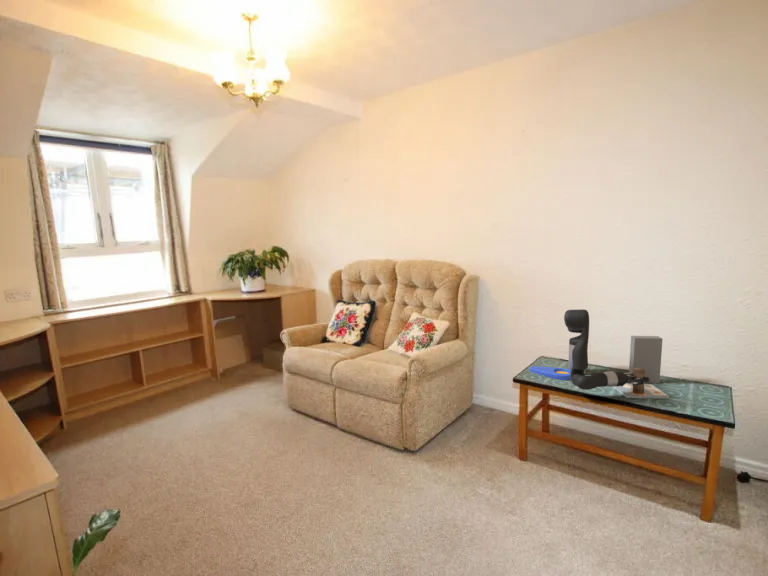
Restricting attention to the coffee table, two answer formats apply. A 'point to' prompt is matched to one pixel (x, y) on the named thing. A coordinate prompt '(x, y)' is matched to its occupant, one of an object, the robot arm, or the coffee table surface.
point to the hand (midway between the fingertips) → (644, 377)
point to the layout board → (649, 392)
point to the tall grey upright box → (646, 356)
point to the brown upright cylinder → (639, 373)
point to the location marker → (553, 372)
